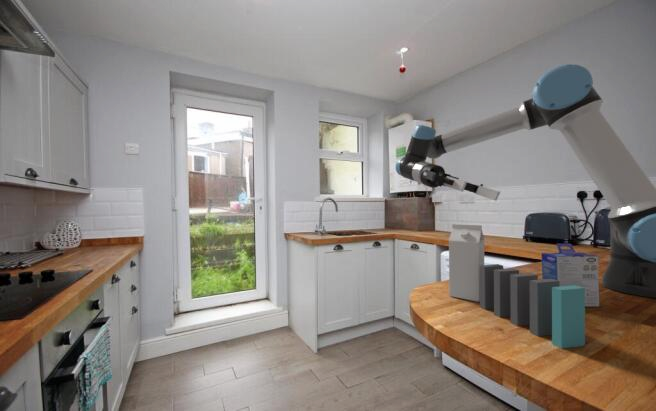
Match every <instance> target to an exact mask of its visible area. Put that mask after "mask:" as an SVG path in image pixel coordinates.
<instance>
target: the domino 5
mask: <svg viewBox="0 0 656 411" xmlns="http://www.w3.org/2000/svg"><path fill="white" fill-rule="evenodd" d="M551 341H552V342H551V344H552V345H554V346H555V347H557V348H560V349H568V348H577V347H584V346H586V307H585V288H583V287H579V286H576V285H572V286H561V287H552V335H551Z"/></svg>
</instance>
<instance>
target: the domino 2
mask: <svg viewBox="0 0 656 411" xmlns="http://www.w3.org/2000/svg"><path fill="white" fill-rule="evenodd" d="M512 274H520V270H519V269H516V268H503V269H497V270H494V309H493V315H494V316H497V317H498V318H507V317H506V316H509V317H511V300H510V275H512Z"/></svg>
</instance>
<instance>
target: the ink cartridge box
mask: <svg viewBox="0 0 656 411" xmlns="http://www.w3.org/2000/svg"><path fill="white" fill-rule="evenodd" d="M556 247H557V250H558V252H541V271H542V274H541V275H542V279H554V280H558V281H560V287H561V286H572V285H576V286H579V287H583V288H585V308H586V307H587V308H588V307H599V306H600V295H599V294H600V291H599V290H600V289H599V287H600V286H599V284H600V283H599V256H598V255H597V254H590V253H587V252H586V253H585V252H582V251H581V252H580V251H579V252H577V251H575V249H574V247H573V244H571V243H569V242H568V243H565V242H564V243H559V242H558V243H557V242H556ZM562 247H567V248H562Z"/></svg>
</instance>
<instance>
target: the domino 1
mask: <svg viewBox="0 0 656 411" xmlns="http://www.w3.org/2000/svg"><path fill="white" fill-rule="evenodd" d="M497 269H504V265H502V264H499V263H495V264H484V265H480V301H479V308H480V309H483V310H494V270H497Z"/></svg>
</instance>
